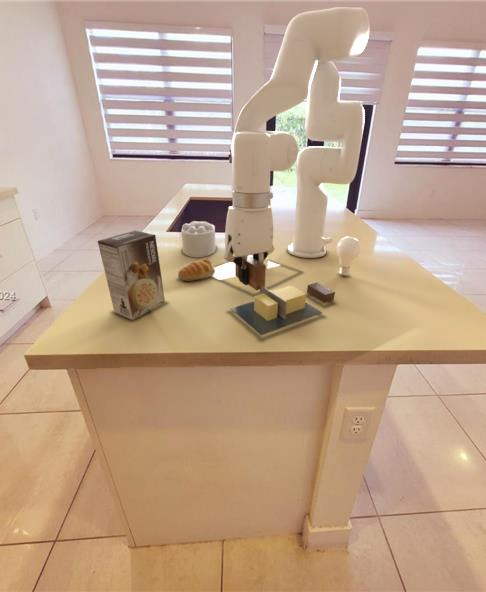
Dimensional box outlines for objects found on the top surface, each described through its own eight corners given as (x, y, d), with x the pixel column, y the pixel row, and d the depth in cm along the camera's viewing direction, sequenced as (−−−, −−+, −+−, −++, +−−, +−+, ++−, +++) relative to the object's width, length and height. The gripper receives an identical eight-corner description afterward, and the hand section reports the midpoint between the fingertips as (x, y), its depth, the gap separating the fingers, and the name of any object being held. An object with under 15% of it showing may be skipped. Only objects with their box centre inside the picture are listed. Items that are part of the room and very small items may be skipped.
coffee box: (146, 295, 74) (136, 229, 67) (166, 303, 71) (157, 234, 64) (112, 312, 67) (96, 240, 60) (132, 321, 64) (118, 246, 57)
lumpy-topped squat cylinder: (216, 244, 109) (215, 219, 105) (213, 257, 98) (212, 230, 93) (186, 243, 109) (184, 218, 105) (179, 257, 97) (177, 229, 93)
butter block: (290, 298, 72) (291, 285, 71) (304, 308, 69) (306, 293, 67) (269, 305, 69) (270, 291, 68) (283, 315, 66) (284, 300, 64)
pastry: (186, 285, 80) (184, 272, 78) (174, 276, 84) (172, 263, 82) (217, 274, 85) (216, 261, 83) (204, 267, 89) (203, 254, 87)
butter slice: (263, 307, 69) (264, 293, 67) (277, 317, 65) (278, 302, 63) (253, 310, 67) (254, 296, 66) (267, 321, 64) (268, 306, 62)
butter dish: (287, 294, 76) (287, 291, 76) (322, 316, 68) (322, 312, 67) (230, 312, 68) (230, 308, 68) (261, 339, 60) (261, 335, 59)
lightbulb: (359, 275, 88) (367, 237, 83) (348, 282, 84) (355, 242, 78) (339, 269, 92) (345, 232, 86) (327, 275, 87) (333, 236, 82)
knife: (243, 284, 78) (243, 252, 74) (289, 317, 65) (292, 280, 61) (235, 287, 77) (235, 254, 73) (280, 320, 63) (283, 282, 59)
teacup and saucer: (261, 280, 83) (262, 266, 81) (240, 271, 88) (240, 258, 86) (282, 271, 89) (283, 257, 87) (261, 263, 94) (261, 250, 92)
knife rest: (315, 293, 77) (316, 282, 76) (333, 303, 73) (335, 291, 72) (306, 296, 76) (307, 285, 74) (324, 306, 71) (325, 294, 70)
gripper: (271, 194, 71) (268, 269, 79) (206, 200, 63) (210, 283, 71) (292, 199, 65) (286, 279, 74) (224, 207, 57) (226, 296, 66)
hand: (249, 280), depth 72 cm, fingers closed on knife, 2 cm apart
